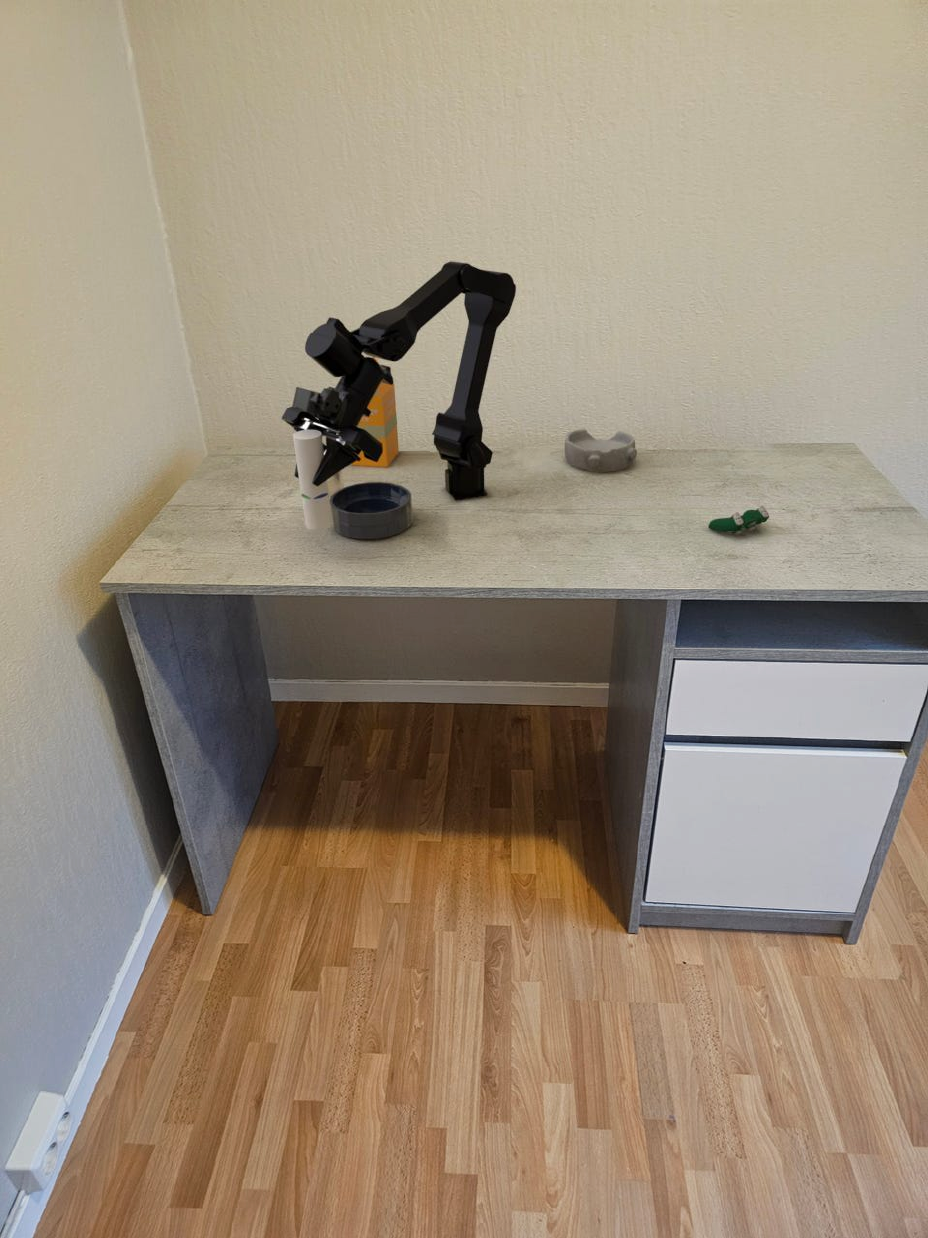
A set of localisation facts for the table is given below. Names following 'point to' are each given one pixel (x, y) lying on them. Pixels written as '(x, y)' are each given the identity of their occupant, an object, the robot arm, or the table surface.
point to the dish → (599, 451)
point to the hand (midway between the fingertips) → (305, 481)
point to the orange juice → (381, 425)
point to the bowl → (371, 510)
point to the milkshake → (335, 482)
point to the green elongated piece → (740, 521)
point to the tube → (307, 464)
